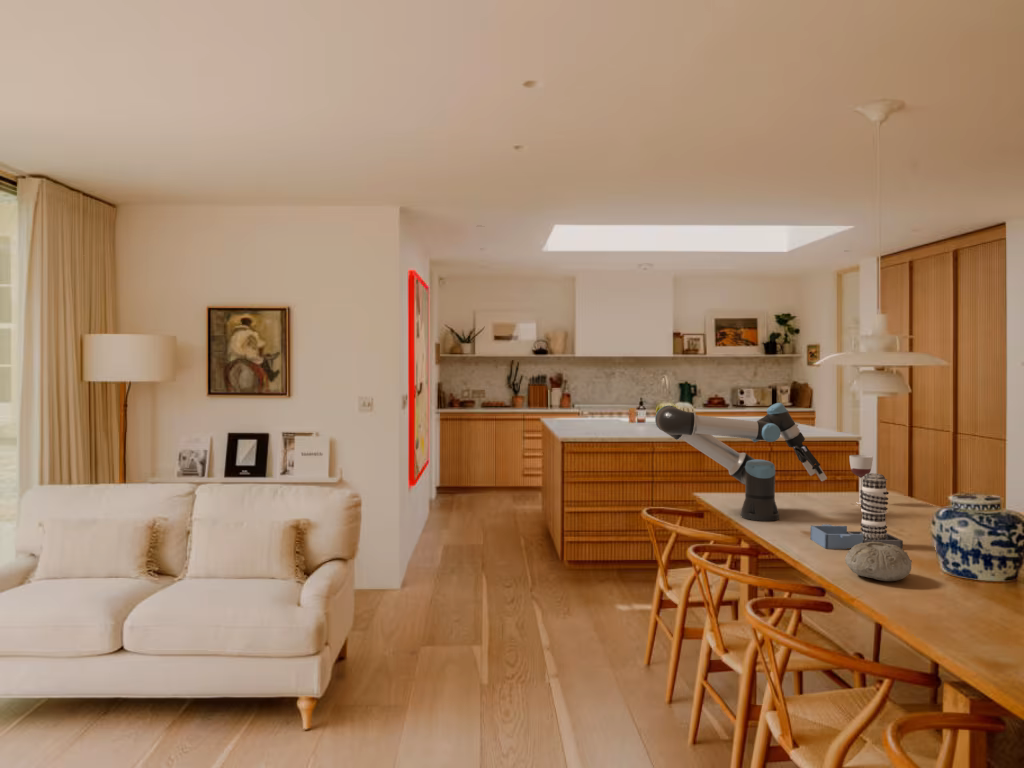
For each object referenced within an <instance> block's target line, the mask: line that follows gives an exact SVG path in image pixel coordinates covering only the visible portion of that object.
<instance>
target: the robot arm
mask: <svg viewBox="0 0 1024 768" xmlns="http://www.w3.org/2000/svg"><path fill="white" fill-rule="evenodd" d="M654 419H655V420H654V421H655V425H656V427H657V428H658V429H659V430H660V431H662V432H664V433H666V434H667V435H668V436H669V437H672V438H673V439H674V440H676V441H680V440H682V441H684V442H685V443H687V444H688V445H690V446H692V447H693V448H695V450H698V451H699V452H701V453H702V454H704V455H705V456H707V457H708V458H709V459H712V460H713V461H715V462H716V463H717V464H719V465H721V466H722V467H723V468H725V469H726V470H728V475H729V476H731V477H733V478H735V480H737V481H739V482H740V484H742V485H745V486H744V487H745V489H744V491H745V496H744V500H743V504H742V506H741V510H740V517H741V516H742V517H741V518H743V517H744V518H743V519H746V518H747V519H746V520H750V519H751V521H757V520H759V521H758V522H771V521H777V520H779V519H780V512H779V509H778V506H777V502H776V500H775V499H776V497H775V496H776V495H775V494H776V490H775V489H776V466H775V464H774V463H773V462H772V461H769V460H765V459H755V458H754V457H752V456H750V455H749V454H747V453H746V452H738V451H736V450H735V449H734V448H732V447H730V446H729V445H727V444H726V443H724V442H723V441H721V440H720V439H718V437H717V438H716V437H715V436H721V437H729V438H730V437H731V438H738V439H739V438H741V439H749V440H751V441H752V442H753V443H756V442H759V441H765V442H769V443H772V442H776V441H777V440H779V439H780V437H782V438H783V440H785V443H786V444H787V447H789V448H792V449H793V450H794V451H793V452H794V453H795V455H796V456H797V459H798V461H799V462H801V464H802V466H803V467H804V468H805V470H806V471H807V473H808V475H809V476H810V477H812V476H814V475H815V474H816V475H817V477H818V479H819V480H820V482H822V483H823V482H825V480H827V479H828V477H827V476H826V474H825V472H824V471H823V469H822V467H821V464H820V462H819V461H818V460H817V458H816V457H815V456H814V455H813V453H812V452H811V451H810V449H809V447H808V446H807V445H805V444H803V443H804V442H805V441H806V438H805V436H804V435H803V433H802V431H800V429H799V427H798V426H799V424H796V422H795V420H794V419H793V417H792V416H791V415H790V412H789V410H788V409H787V408H786V406H785V405H784V404H783V403H782V402H776V403H773V404H772V405H770V406H769V407H768V408H767V409H766V415H765V416H763V417H760V418H759V419H758V420H755V421H753V420H744V419H736V418H735V419H734V418H725V417H716V416H707V415H706V416H705V415H697V414H696V413H695V412H693V411H685V410H682V409H679V408H677V407H676V406H673V405H664V406H662V407H661V408H659V409H658V410H657V412H656V414H655V418H654Z"/></svg>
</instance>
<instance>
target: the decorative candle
mask: <svg viewBox="0 0 1024 768" xmlns="http://www.w3.org/2000/svg"><path fill="white" fill-rule="evenodd" d="M887 481H888V478H886V477H885V475H883V474H881V473H871V472H870V473H869V474H866V475H865V476H863V477H862V490H860V489H859V495H860V493H861V495H860V497H861V501H860V503H861V506H859V507H860V508H861V509H860V511H861V515H862V516H861V523H860V526H861V527H860V531H862V532H861V533H860V534H863V539H864V540H886V538H887V535H886V534H885V533H888V530H887V529H888V526H887V520H886V519H887V517H886V516H887V515H886V514H888V511H887V510H889V509H888V507H887V505H888V504H889V502H888V500H889V498H888V497H887V496H888V495H889V494H890V492H889V491H887V489H888V488H887Z"/></svg>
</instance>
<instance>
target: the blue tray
mask: <svg viewBox="0 0 1024 768" xmlns="http://www.w3.org/2000/svg"><path fill="white" fill-rule="evenodd" d="M847 531H848V526H847V525H831V524H821V525H810V538H809V539H810V540H811V541H813V542H814V543H816V544H817V545H819V546H821V547H822V548H823V549H826V550H829V549H830V550H833V549H834V550H837V549H838V550H848V549H847V548H852V547H854V546H855V545H857V544H860V543H863V534H847Z"/></svg>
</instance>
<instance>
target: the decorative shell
mask: <svg viewBox="0 0 1024 768" xmlns="http://www.w3.org/2000/svg"><path fill="white" fill-rule="evenodd" d="M844 561H845V564H846V566H847V567H848V568H849V570H851V572H852V573H854V574H856V575H857V576H861V577H866V578H868V579H870V578H871V579H873V580H877V581H881V582H894V581H895V582H896V581H899V580H903V579H904V578H906V577H908V576H909V574H910V573H911V571H912V563H913V561H912V559H911V558H910V556H909V555H908V552H907V551H905V550H904V549H901V548H900V547H898V546H895V545H893V544H892V545H890V544H885V543H882V542H874V541H872V542H867V543H860V544H857V545H855V546H854V547H852V548H851V549H848V550H847V554H845V558H844Z"/></svg>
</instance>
